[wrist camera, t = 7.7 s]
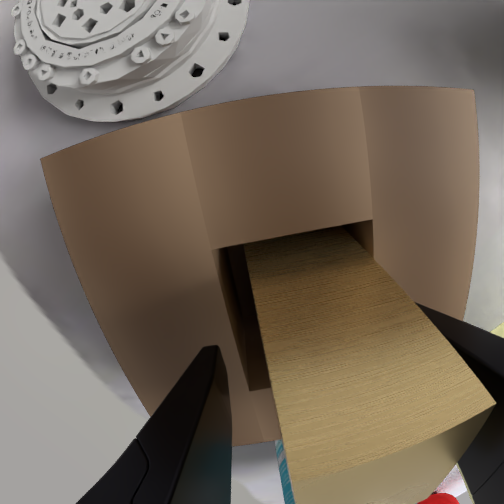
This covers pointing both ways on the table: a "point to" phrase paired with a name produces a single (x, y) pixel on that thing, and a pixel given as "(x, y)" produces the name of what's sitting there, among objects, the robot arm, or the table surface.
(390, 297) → the brushed gold block
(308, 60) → the table surface
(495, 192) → the table surface
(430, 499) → the tomato
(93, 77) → the mechanical component
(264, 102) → the slotted wooden block
